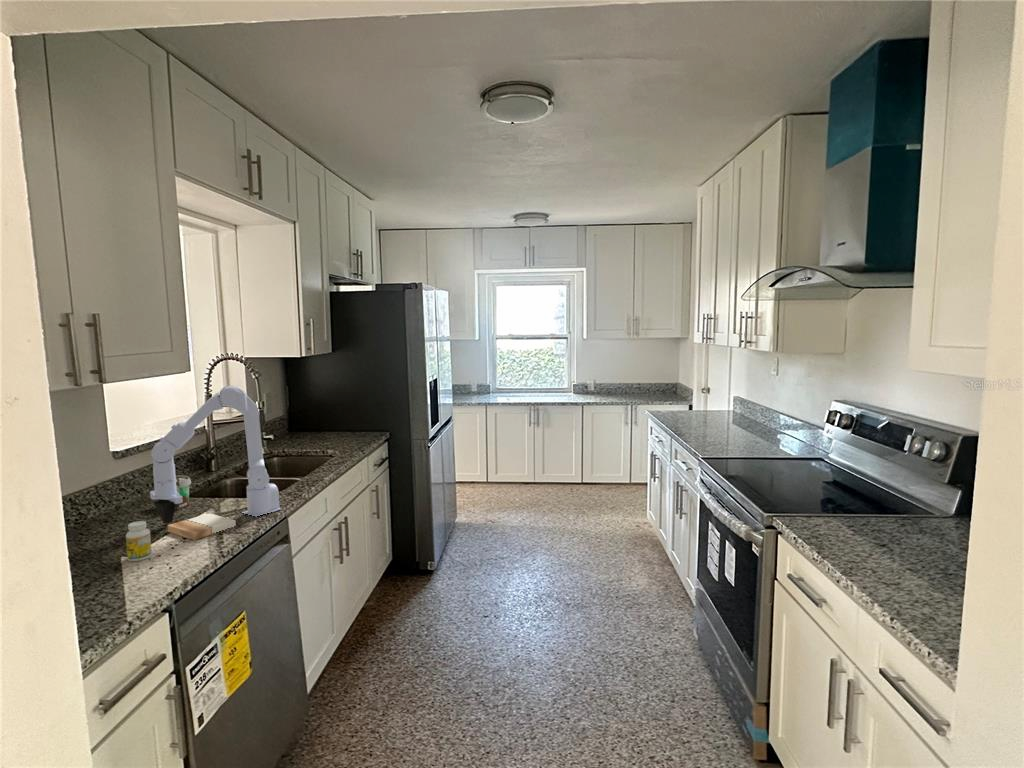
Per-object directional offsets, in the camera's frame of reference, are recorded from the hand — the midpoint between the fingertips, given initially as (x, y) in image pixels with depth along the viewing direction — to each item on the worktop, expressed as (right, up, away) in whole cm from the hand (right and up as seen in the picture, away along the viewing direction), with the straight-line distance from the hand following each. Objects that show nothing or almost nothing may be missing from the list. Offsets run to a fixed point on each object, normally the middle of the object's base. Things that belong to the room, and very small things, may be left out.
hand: (167, 522), depth 166 cm
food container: (-9, 0, +21) cm, 23 cm away
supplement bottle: (+7, -4, -23) cm, 24 cm away
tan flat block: (+10, -2, -5) cm, 12 cm away
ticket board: (+13, -1, 0) cm, 13 cm away
